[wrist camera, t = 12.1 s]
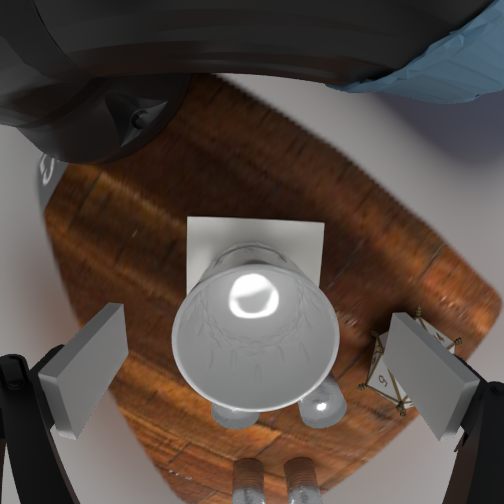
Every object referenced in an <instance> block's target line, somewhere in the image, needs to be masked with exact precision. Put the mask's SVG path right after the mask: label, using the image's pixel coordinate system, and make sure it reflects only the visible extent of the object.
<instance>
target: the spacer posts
mask: <svg viewBox="0 0 504 504" xmlns="http://www.w3.org/2000/svg"><path fill="white" fill-rule="evenodd" d="M298 406H299V410H300V414H301V418H302V420H303V422H304V423H305V424H306V425H307V426H309V427H312V428H326V427H329V426H332V425H334V424H335V423H337V422H338V421H340V420H341V419H342V417H343V416H344V415H345V413H346V409H347V404H346V401H345V399H344V397H343V395H342V393H341V390H340V388H339V386H338V384H337V382H336V380H335V377H334V375H333V373H332V371H331V370H330V372H329V373H328V375H327V376H326V378H325V379H324V380H323V381H322V382H321V384H320V385H319V386H318V387H317V388H316V389H315V390H313V391H312V392H311V393H310V394H308V395H307V396H306V397H304V398H303V399H301V400H299V401H298ZM211 414H212V417H213V419H214V420H215V421H216V422H217V423H218V424H219V425H221V426H223V427H225V428H229V429H244V428H247V427H249V426H251V425H253V424H254V423H255V422H256V421H257V419H258V418H259V414H260V412H244V411H237V410H232V409H229V408H225V407H222V406H220V405H217V404H215V403H213V402H212V408H211ZM284 472H285V479H286V486H287V493H288V500H289V504H323V503H322V499H321V495H320V490H319V486H318V482H317V478H316V474H315V470H314V466H313V462H312V461H311V460H310V459H308V458H304V457H300V458H295V459H292V460H290V461H288V462H287V463H286V464H285V466H284ZM232 504H266V503H265V490H264V476H263V465H262V463H261V462H260V461H258V460H255V459H251V458H245V459H241V460H238V461H236V462H235V463H234V465H233V483H232Z"/></svg>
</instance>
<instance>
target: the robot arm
mask: <svg viewBox="0 0 504 504" xmlns="http://www.w3.org/2000/svg"><path fill="white" fill-rule="evenodd" d="M191 73H234V74H253V75H266V76H276V77H284V78H292V79H299V80H306V81H313V82H319V83H325V85H326V86H327V87H330V88H333V89H336V90H340V91H346V92H348V93H364V92H372V91H376V92H383V93H389V94H396V95H401V96H405V97H410V98H414V99H418V100H423V101H428V102H434V103H460V102H468V101H472V100H474V99H476V98H477V97H479V96H480V95H481V94H485V93H489V92H497V91H500V90H504V0H0V124H1V125H8V126H13V127H16V128H17V129H18V130H19V131H20V132H21V133H22V134H23V135H24V136H25V137H26V138H27V139H29V140H30V141H31V142H32V143H33V144H34V145H35V146H36V147H37V148H38V149H40V150H41V151H42V152H43V153H45V154H47V155H48V156H50V157H52V158H54V159H57V160H60V161H63V162H68V163H75V164H84V165H97V164H104V163H109V162H113V161H116V160H119V159H121V158H124V157H126V156H128V155H130V154H132V153H134V152H135V151H137V150H139V149H140V148H142V147H143V146H145V145H146V144H147V143H149V142H150V141H151V140H152V139H153V138H155V137H156V136H157V135H158V134H159V133H160V132H161V131H162V130H163V129H164V128H165V127H166V125H167V124H168V123H169V122H170V120H171V119H172V118H173V116H174V115H175V113H176V112H177V110H178V109H179V107H180V105H181V103H182V101H183V99H184V97H185V95H186V92H187V89H188V86H189V83H190V79H191ZM127 356H128V347H127V338H126V329H125V319H124V308H123V304H118V303H108V304H107V305H106V306H105V307H104V308H103V309H102V310H101V311H100V312H99V313H97V314H96V315H95V316H94V317H93V318H92V319H91V320H90V321H89V322H88V323H87V324H86V325H85V326H84V327H83V328H82V329H81V330H80V331H79V332H78V333H77V334H76V335H75V336H74V337H73V338H72V339H71V340H70V341H69V342H68V343H67V344H66V345H62V344H61V345H59V346H57V347H55V348H52V349H51V350H50V351H49V352H48V353H47V354H46V355H45V356H44V357H43V358H42V359H41V360H40V361H39V362H38V363H37V364H36V365H35V366H34V367H33V368H32V369H31V370H30V371H29V368H28V364H27V361H26V359H25V357H23V356H21V355H17V354H8V355H4V356H1V357H0V504H1V496H2V495H1V494H2V478H3V465H4V456H5V447H6V443H7V449H8V454H9V459H10V464H11V468H12V473H13V477H14V481H15V485H16V489H17V493H18V496H19V499H20V503H21V504H80V502H79V500H78V498H77V496H76V494H75V492H74V489H73V487H72V485H71V483H70V480H69V478H68V476H67V474H66V471H65V469H64V466H63V464H62V461H61V459H60V456H59V454H58V451H57V448H56V445H55V443H54V440H53V437H52V435H51V432H50V429H51V427H52V426H53V425H54V424H55V426H56V429H57V431H58V434H59V435H60V436H64V437H67V438H71V439H74V440H77V438H78V436H79V435H80V433H81V431H82V430H83V428H84V426H85V425H86V423H87V421H88V419H89V418H90V416H91V414H92V413H93V411H94V409H95V408H96V406H97V404H98V403H99V401H100V399H101V398H102V396H103V394H104V393H105V391H106V389H107V388H108V386H109V385H110V383H111V381H112V380H113V378H114V376H115V375H116V373H117V372H118V370H119V368H120V367H121V365H122V364H123V362H124V360H125V359H126V357H127ZM382 361H383V362H384V364H385V365H386V367H387V368H388V369H389V371H390V372H391V373H392V375H393V376H394V378H395V379H396V380H397V382H398V383H399V385H400V386H401V387H402V389H403V390H404V391H405V393H406V394H407V396H408V397H409V399H410V400H411V401H412V403H413V404H414V406H415V407H416V408H417V410H418V411H419V413H420V414H421V416H422V417H423V418H424V420H425V421H426V423H427V424H428V426H429V427H430V429H431V430H432V431H433V433H434V434H435V436H436V437H437V439H438V440H439V441H443V440H446V439H450V438H454V437H455V435H456V433H457V431H458V429H459V427H460V426H461V427H462V428H463V429H464V433H463V435H462V437H461V439H460V441H459V443H458V445H457V447H456V449H455V450H454V452H456V451H457V450H458V453H457V457H456V460H455V464H454V468H453V471H452V475H451V478H450V481H449V485H448V488H447V491H446V494H445V497H444V500H443V503H442V504H504V383H501V382H496V381H492V382H489V383H488V382H487V381H486V380H485V379H484V378H482V377H481V376H480V375H479V374H478V373H477V372H476V371H475V370H473V369H472V367H471V366H469V365H467V363H466V362H465V361H464V360H463V359H462V358H460V357H458V356H456V355H455V354H453V353H451V352H450V351H448V350H447V349H446V348H445V347H444V346H443V345H442V344H441V343H440V342H438V341H437V340H436V339H435V338H434V337H433V336H432V335H431V334H430V333H428V332H427V331H426V330H425V329H424V328H423V327H422V326H420V325H419V324H418V323H417V322H416V321H415V320H414V319H412V318H411V317H410V316H409V315H408V314H407V313H393V314H392V319H391V324H390V329H389V334H388V338H387V343H386V347H385V351H384V355H383V359H382Z"/></svg>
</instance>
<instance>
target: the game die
mask: <svg viewBox="0 0 504 504" xmlns="http://www.w3.org/2000/svg"><path fill="white" fill-rule="evenodd" d="M415 310H416V312H415V313H416V317H414V318H412V319H414V320H415V321H416V322H417V323H418V324H419V325H420V326H422V327H423V328H424V329H425V330H426V331H427V332H428V333H430V334H431V335H432V336H433V337H434V338H435V339H436V340H437V341H438V342H440V343H441V344H442V345H443V346H444V347H445V348H446V349H447V350H448V351H450V352H451V353H453V354H455V347H456V345H457V344H458V345H459V344H460V343H462V341H463V339H464V338H460V337H459V338H458V339H456V341H453V340H452V339H450V338H449V337H448V336H446V335H445V334H443V333H442V332H441V331H439V330H438V329H437V328H435V327H434V326H432V325H431V324H430V323H428V322H427V321H426V320H424V319H423V318H421V317H420V314H421V311H422V309H421V308H420V306H418V307H417V308H416V309H415ZM388 334H389V330H388V331H386V332H384V333H382V334H380V335H378V332H376V331H371V335H372V336H373V337H375V338H376V342H375V347H374V351H373V356H372V360H371V364H370V368H369V372H368V376H367V380H366V383H365V384H363V383H362V384H359V386H358V387H357V388H356V389H359V390H362V389H364V388H366V387H368V388H370V389H371V390H373V391H374V392H376V393H377V394H379V395H381V396H382V397H384V398H385V399H387V400H388V401H390V402H391V403H393V404H395V405H396V406H397V407H396V408H397V410H398V413H399V412H400V411H401V413H400V415H401V417H403V416H405V415H406V409H409V408H412V407H415V406H414V404H413V403H412V401H411V400H410V399H409V397H408V396H407V394H406V393H405V391H404V390H403V389H402V387H401V386H400V385H399V383H398V382H397V380H396V379H395V378H394V376H393V375H392V373H391V372H390V371H389V369H388V368H387V367H386V365H385V364H384V362H383V361H382V359H383V355H384V351H385V347H386V343H387V338H388Z"/></svg>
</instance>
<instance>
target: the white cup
mask: <svg viewBox="0 0 504 504" xmlns="http://www.w3.org/2000/svg"><path fill="white" fill-rule="evenodd" d="M338 347H339V325H338V321H337V317H336V314H335V311H334V309H333V307H332V305H331V303H330V302H329V300H328V298H327V297H326V296H325V294H324V293H323V292H322V291H321V290H320V289H319V288H318V287H317V286H316V285H315V284H314V283H313V282H312V281H311V279H310V278H309V277H308V276H307V275H306V274H305V273H304V272H303V271H302V270H301V269H300V268H299V267H298V266H297V265H296V264H295V263H294V262H293V261H292V260H291V259H290V258H288V257H287V256H286V255H284V254H283V253H281V252H280V250H279V249H277V248H274V247H272V246H269V245H267V244H264V243H261V242H245V243H237V244H235V245H233V246H232V247H230V248H228V249H226V250H225V251H223V252H221V253H220V254H219V255H218V256H217V258H216V259H215V260H214V261H213V262H212V263H211V264H210V265H209V266H208V267H207V268H206V270H205V271H204V272H203V273H202V275H201V277H200V278H199V279H198V281H197V282H196V284H195V285H194V287H193V288H192V290H191V291H190V292H189V294H188V295H187V297H186V298H185V300H184V301H183V303H182V304H181V306H180V308H179V310H178V312H177V314H176V317H175V320H174V324H173V329H172V349H173V354H174V358H175V361H176V364H177V366H178V368H179V370H180V372H181V374H182V375H183V377H184V378H185V380H186V381H187V382H188V383H189V384H190V386H191V387H192V388H193V389H194V390H196V391H197V392H198V393H199V394H200V395H202V396H203V397H205V398H206V399H208V400H209V401H211V402H213V403H215V404H217V405H220V406H222V407H225V408H229V409H232V410H237V411H244V412H264V411H271V410H276V409H280V408H283V407H286V406H289V405H291V404H293V403H295V402H297V401H299V400H301V399H303V398H304V397H306V396H307V395H308V394H310V393H311V392H312V391H313V390H315V389H316V388H317V387H318V386H319V385H320V384H321V382H322V381H323V380H324V379H325V378H326V376H327V375H328V373H329V372H330V370H331V368H332V366H333V364H334V361H335V359H336V356H337V352H338Z"/></svg>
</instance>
